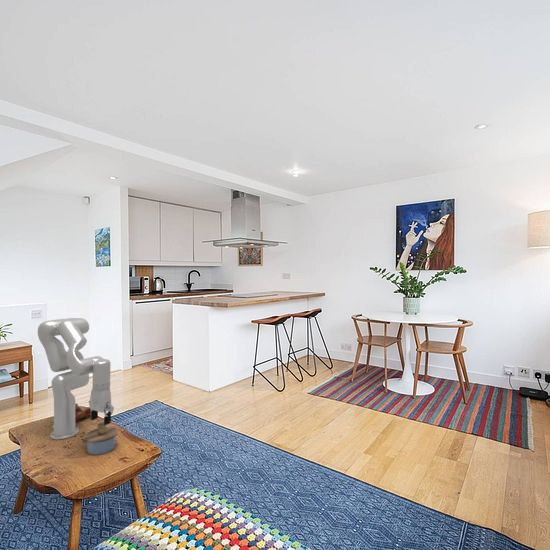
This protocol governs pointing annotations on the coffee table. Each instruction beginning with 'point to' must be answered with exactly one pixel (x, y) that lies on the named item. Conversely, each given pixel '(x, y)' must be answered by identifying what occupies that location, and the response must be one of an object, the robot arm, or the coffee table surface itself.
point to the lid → (101, 434)
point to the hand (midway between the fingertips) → (100, 421)
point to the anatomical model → (81, 412)
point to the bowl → (101, 446)
